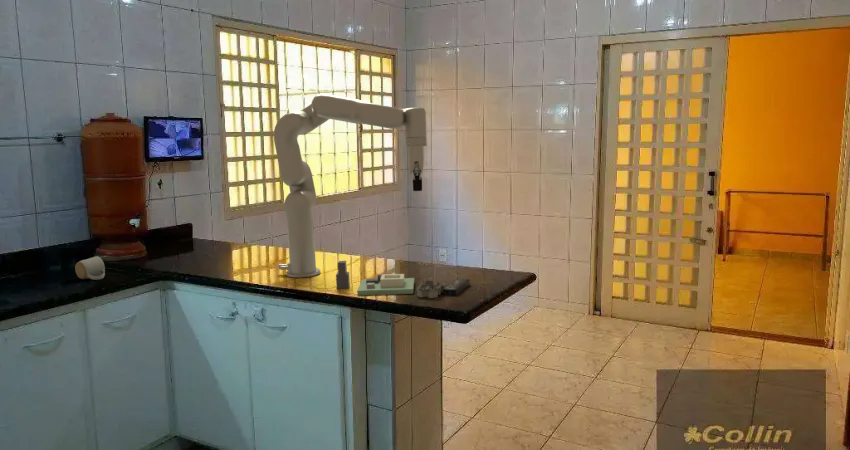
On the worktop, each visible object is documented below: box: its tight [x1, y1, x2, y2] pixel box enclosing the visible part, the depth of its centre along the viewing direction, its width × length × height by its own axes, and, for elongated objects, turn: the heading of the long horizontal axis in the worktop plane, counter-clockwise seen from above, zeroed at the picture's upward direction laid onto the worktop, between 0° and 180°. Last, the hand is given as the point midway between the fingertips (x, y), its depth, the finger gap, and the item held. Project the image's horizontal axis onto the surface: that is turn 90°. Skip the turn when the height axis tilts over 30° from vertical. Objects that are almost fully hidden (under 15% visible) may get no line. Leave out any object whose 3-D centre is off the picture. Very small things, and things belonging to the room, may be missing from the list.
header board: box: [356, 273, 415, 296], centre depth 208 cm, size 18×15×4 cm
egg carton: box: [415, 277, 446, 299], centre depth 200 cm, size 11×8×4 cm
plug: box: [335, 260, 351, 290], centre depth 211 cm, size 4×3×9 cm
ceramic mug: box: [74, 256, 106, 281], centre depth 238 cm, size 11×8×8 cm
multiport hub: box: [442, 278, 471, 297], centre depth 204 cm, size 4×14×2 cm, turn 158°
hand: (417, 189), depth 227 cm, fingers open, 9 cm apart
